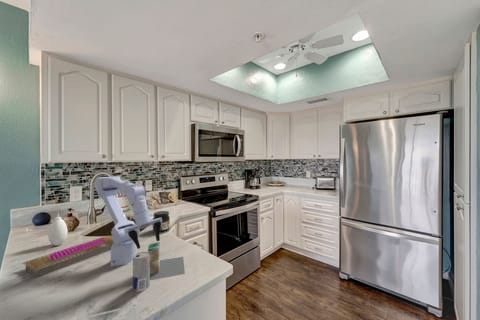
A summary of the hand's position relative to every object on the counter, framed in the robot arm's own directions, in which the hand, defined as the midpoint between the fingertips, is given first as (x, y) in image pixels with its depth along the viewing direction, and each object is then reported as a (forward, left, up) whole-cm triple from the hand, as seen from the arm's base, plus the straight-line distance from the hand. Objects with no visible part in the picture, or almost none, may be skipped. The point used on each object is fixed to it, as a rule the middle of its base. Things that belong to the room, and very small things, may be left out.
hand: (148, 244), depth 81 cm
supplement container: (+1, +52, -12) cm, 53 cm away
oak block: (+2, 0, -11) cm, 11 cm away
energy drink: (-1, -11, -11) cm, 16 cm away
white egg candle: (-52, +47, -11) cm, 71 cm away
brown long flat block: (-34, +27, -12) cm, 45 cm away
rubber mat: (+5, 0, -11) cm, 12 cm away
